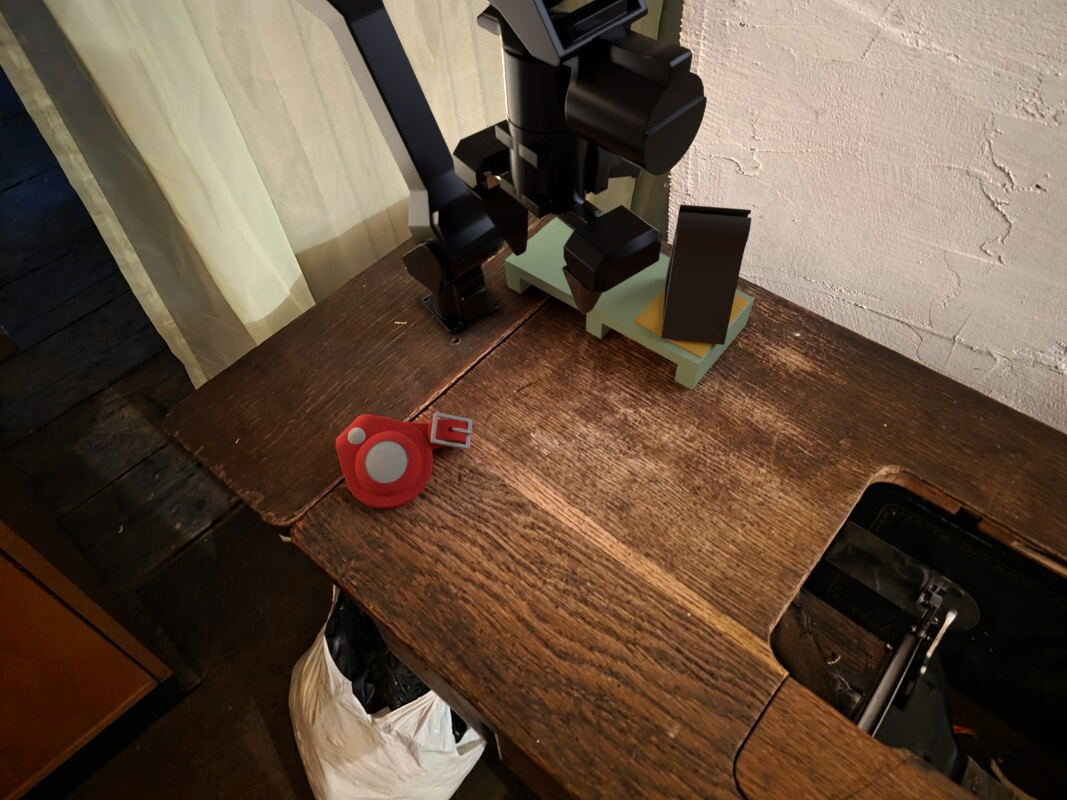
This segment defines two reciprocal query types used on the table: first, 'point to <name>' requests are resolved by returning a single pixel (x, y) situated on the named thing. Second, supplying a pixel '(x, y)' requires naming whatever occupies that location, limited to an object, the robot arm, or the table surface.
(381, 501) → the red tape measure
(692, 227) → the phone stand
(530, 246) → the shoe shelf
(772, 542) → the table surface
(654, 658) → the table surface
